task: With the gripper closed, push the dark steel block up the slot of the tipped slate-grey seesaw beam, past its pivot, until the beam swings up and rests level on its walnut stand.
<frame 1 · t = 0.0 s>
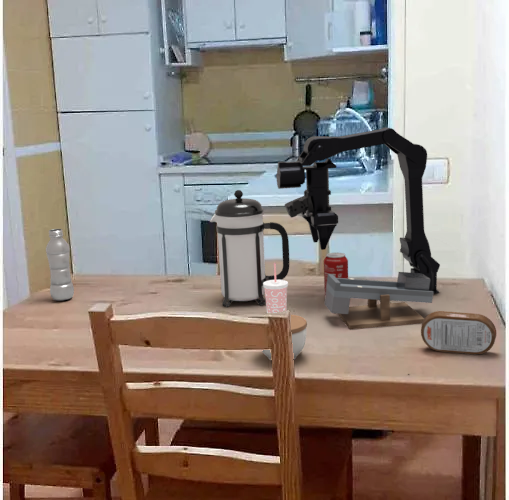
hand: (319, 245, 184), 15 cm above the table, fingers open, 9 cm apart
plastic bottle: (63, 300, 199), on the table
tin: (457, 352, 147), on the table
lidded jar: (282, 357, 149), on the table
beam: (378, 296, 170), point 5 cm above the table, hinge at -8.2°, touching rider
beverage cup: (277, 318, 174), on the table
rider: (411, 291, 171), point 6 cm above the table, tilted 8°, touching beam
coffee press: (248, 300, 190), on the table
beverage can: (336, 299, 188), on the table
stand: (378, 317, 171), on the table
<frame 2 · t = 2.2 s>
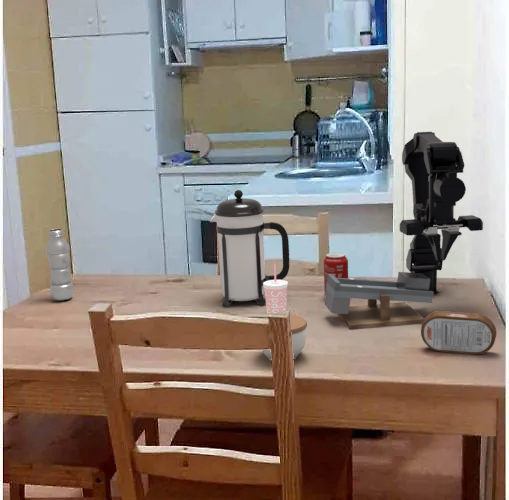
hand: (440, 260, 170), 13 cm above the table, fingers closed
nothing on the table moved.
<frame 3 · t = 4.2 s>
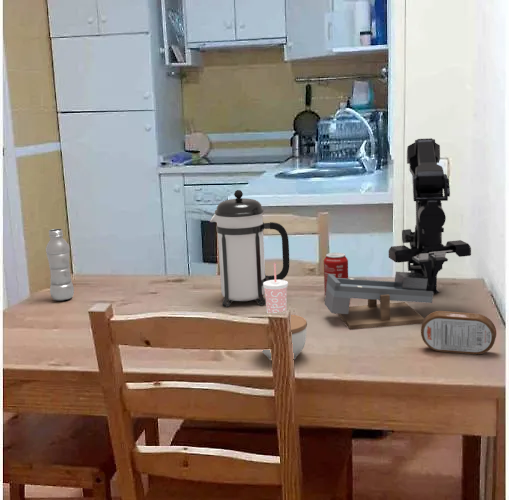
hand: (429, 285, 171), 7 cm above the table, fingers closed
beam: (378, 296, 170), point 5 cm above the table, hinge at -8.2°
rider: (409, 291, 171), point 6 cm above the table, tilted 8°, touching gripper
everything else where it was.
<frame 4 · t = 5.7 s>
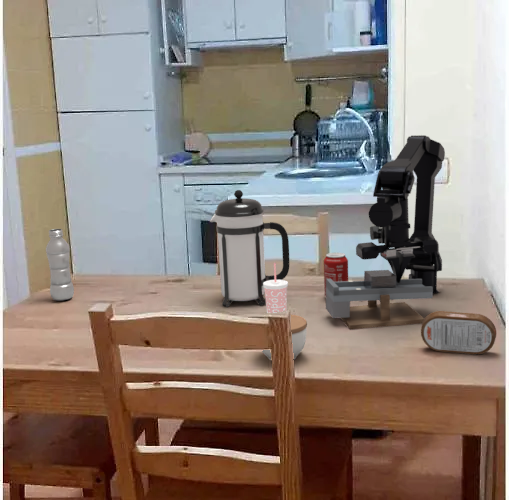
hand: (398, 282, 170), 8 cm above the table, fingers closed
beam: (378, 296, 170), point 5 cm above the table, hinge at -2.5°, touching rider
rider: (379, 289, 170), point 7 cm above the table, touching beam, gripper
everything else where it was.
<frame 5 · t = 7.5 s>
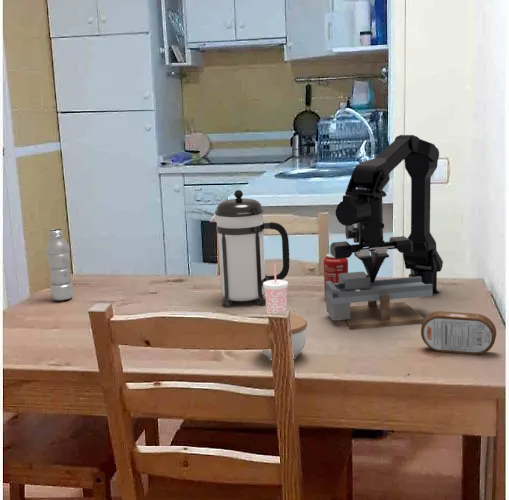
hand: (371, 282, 169), 9 cm above the table, fingers closed
beam: (378, 296, 170), point 5 cm above the table, hinge at 0.3°, touching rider
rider: (354, 291, 169), point 7 cm above the table, touching beam, gripper
everything else where it was.
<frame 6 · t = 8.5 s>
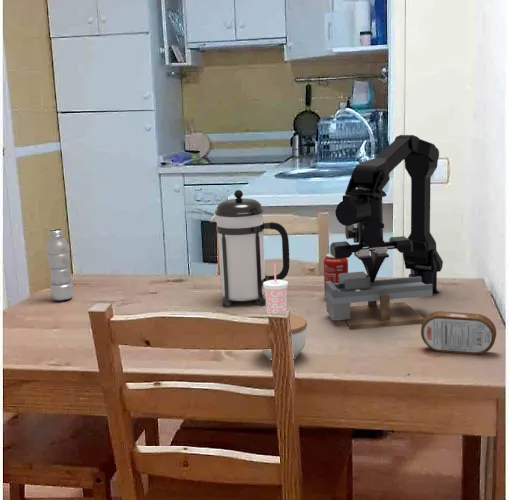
hand: (371, 282, 169), 9 cm above the table, fingers closed
nothing on the table moved.
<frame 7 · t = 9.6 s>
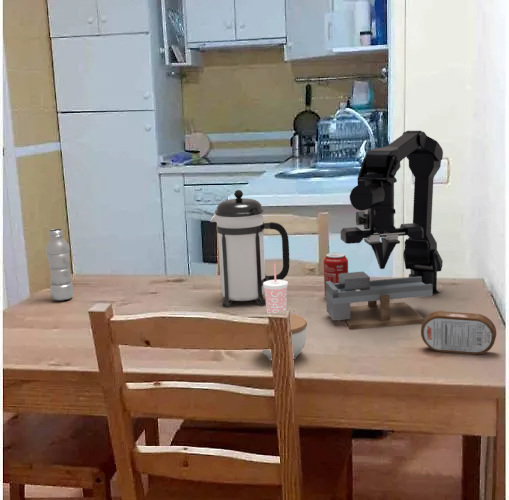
hand: (381, 268, 168), 12 cm above the table, fingers closed
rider: (354, 291, 169), point 7 cm above the table, touching beam
everything else where it was.
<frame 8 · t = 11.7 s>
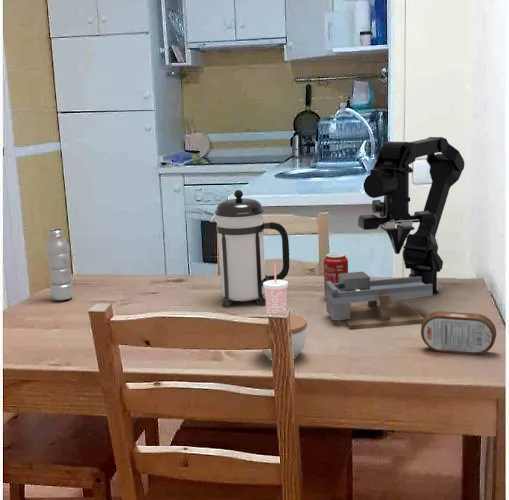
hand: (397, 253, 179), 13 cm above the table, fingers closed
nothing on the table moved.
at the end: beam at +0° (first picture: -8°); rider inside the target area on the beam (0.6 cm from its centre), point 1.5 cm above the beam's base; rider tilted 0° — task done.
